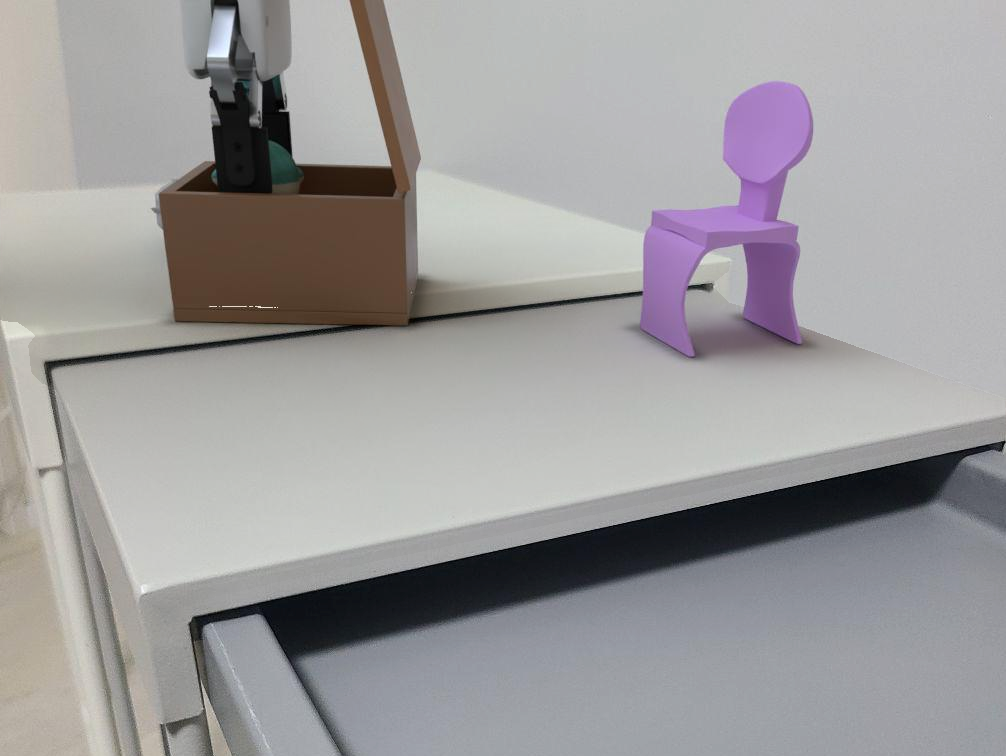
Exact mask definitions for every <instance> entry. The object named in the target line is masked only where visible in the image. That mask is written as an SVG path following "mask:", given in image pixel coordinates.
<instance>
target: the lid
mask: <svg viewBox="0 0 1006 756" xmlns="http://www.w3.org/2000/svg"><path fill="white" fill-rule="evenodd" d="M349 4H350V8H351V12H352V16H353V20H354V23H355V28H356V31H357V36H358V40H359V44H360V47H361V51H362V55H363V59H364V63H365V68H366V71H367V74H368V79H369V83H370V84H369V85H370V87H371V91H372V96H373V99H374V103H375V107H376V111H377V115H378V119H379V123H380V128H381V130H382V135H383V138H384V143H385V146H386V147H385V148H386V150H387V155H388V158H389V162H390V166H391V167H392V171H393V175H394V179H395V182H396V186H397V190H398V192H399V193H401V192H405V191H410V190H411V187H412V184H413V181H414V178H415V175H416V176H417V172H418V168H419V166H420V163H421V159H422V155H421V152H420V151H421V150H420V148H419V144H418V139H417V135H416V131H415V127H414V122H413V118H412V114H411V110H410V105H409V101H408V97H407V93H406V90H405V85H404V84H405V83H404V81H403V80H404V79H403V76H402V71H401V68H400V64H399V59H398V55H397V51H396V47H395V43H394V39H393V35H392V30H391V26H390V22H389V18H388V13H387V10H386V5H385V1H384V0H349Z"/></svg>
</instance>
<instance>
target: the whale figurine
mask: <svg viewBox="0 0 1006 756" xmlns="http://www.w3.org/2000/svg"><path fill="white" fill-rule="evenodd" d="M269 152H270V165H271V177H272V194H298V193H299V189H300V184H301V183H302V182H303V180H304V174H303V172H302V170H301V169H300V168H298V167H297V165H296V164H297V163H296V161H295V159H294V158H292V156H293V155H292V156H291V155H290V154H289V153H288V152H287V151H286V150H285V149H284V148H283V147H282V146H280V145H279V144H277V143H275V142H273V141H270V140H269ZM212 180H213V182H214V183H215V185H217V175H216V170H214V172H213V173H212ZM217 186H218V185H217Z"/></svg>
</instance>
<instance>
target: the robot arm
mask: <svg viewBox="0 0 1006 756" xmlns="http://www.w3.org/2000/svg"><path fill="white" fill-rule="evenodd" d="M179 3H180V13H181V14H180V18H181V29H182V30H181V31H182V42H183V55H184V66H185V70H186V72H187V73H188V74H189V75H190V76H191V77H192V78H194V79H195V80H206V79H208V78H210V86H209V90H208V94H209V98H210V122H211V133H212V134H211V137H212V145H213V154H214V161H215V165H216V175H217V185H218V192H222V193H260V194H272V177H271V165H270V152H269V140H270V141H273V142H275V143H277V144H279V145H280V146H282V147H283V148H284V149H285V150H286V151H287V152H288V153H289V154H290V155H291V156H292V158H293V144H292V130H291V116H290V115H291V114H290V111H288V95H287V88H286V82H285V77H284V72H285V71H286V70H287V69H288V68H289V67H290V66H291V64H292V57H293V56H292V54H293V53H292V50H293V47H292V43H293V42H292V20H291V18H292V17H291V5H290V3H291V2H290V0H179ZM293 159H294V158H293Z"/></svg>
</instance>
